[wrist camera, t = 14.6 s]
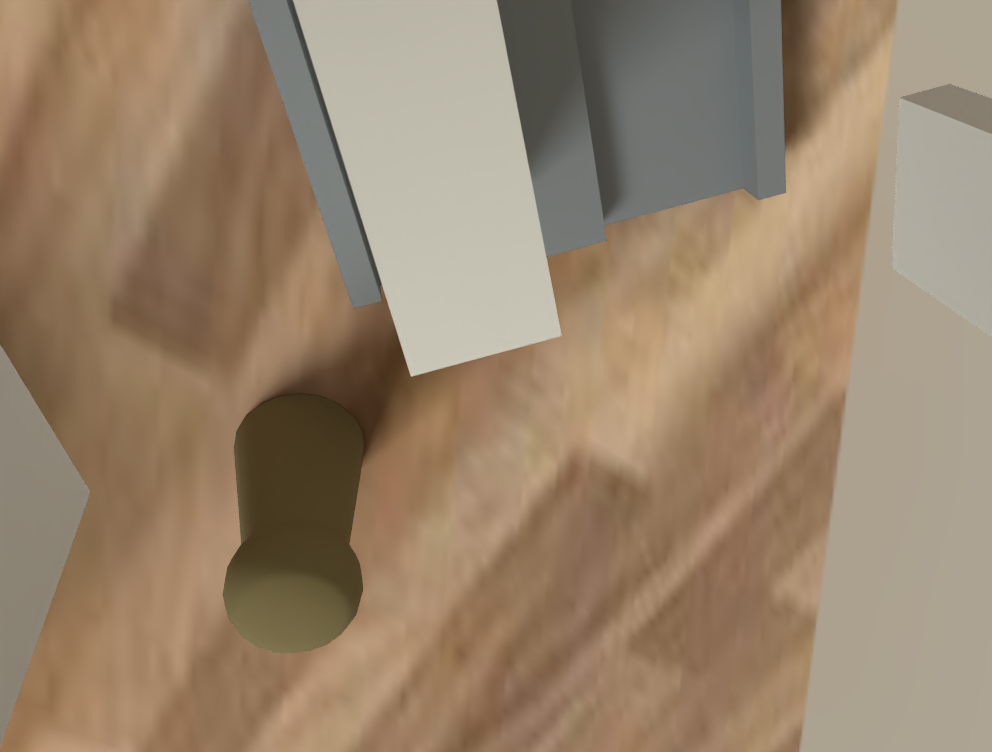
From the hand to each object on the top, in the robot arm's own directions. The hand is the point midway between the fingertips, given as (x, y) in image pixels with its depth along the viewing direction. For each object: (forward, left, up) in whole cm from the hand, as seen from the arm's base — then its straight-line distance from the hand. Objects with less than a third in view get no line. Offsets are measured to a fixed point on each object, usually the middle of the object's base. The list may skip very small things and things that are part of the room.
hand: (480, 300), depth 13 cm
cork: (-9, -17, -23) cm, 30 cm away
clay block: (0, 0, -22) cm, 22 cm away
